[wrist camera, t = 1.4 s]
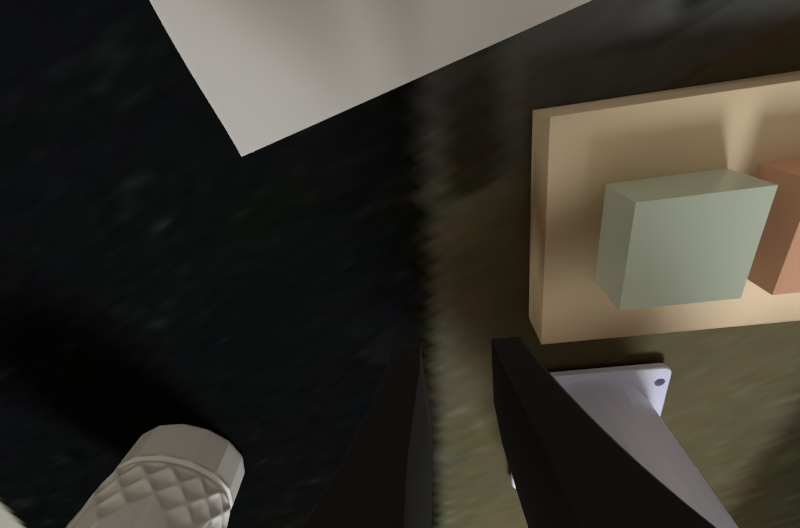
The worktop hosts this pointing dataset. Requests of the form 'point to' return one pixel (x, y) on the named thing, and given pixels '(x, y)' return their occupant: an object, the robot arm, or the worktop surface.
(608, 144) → the wooden board
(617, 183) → the sage tile
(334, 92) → the kitchen cleaver
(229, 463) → the white cup
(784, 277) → the terracotta tile
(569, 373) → the robot arm
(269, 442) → the worktop surface
